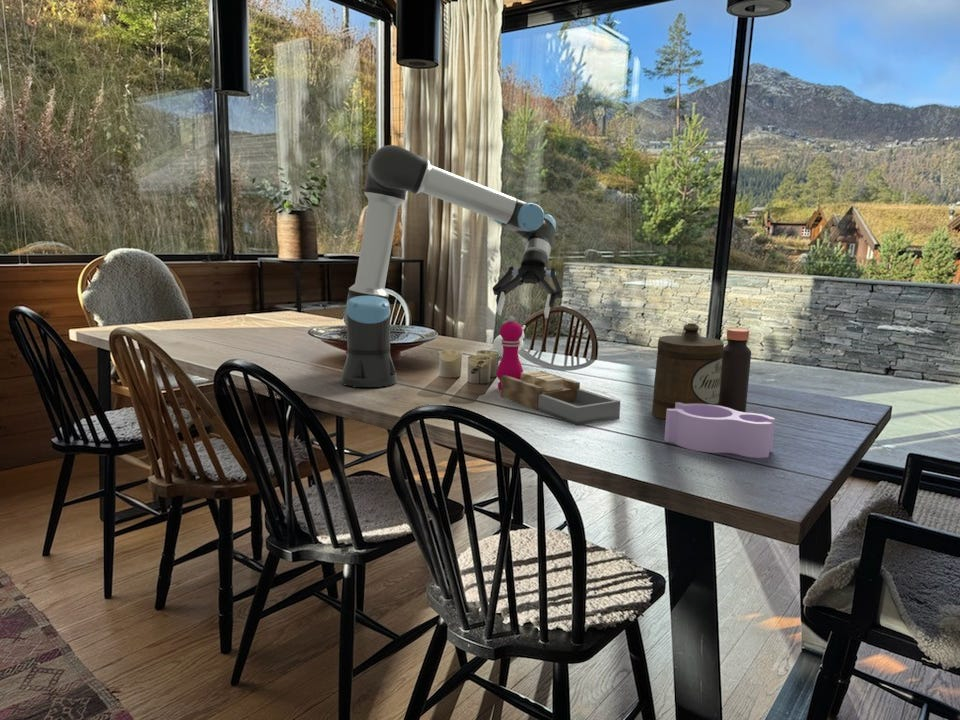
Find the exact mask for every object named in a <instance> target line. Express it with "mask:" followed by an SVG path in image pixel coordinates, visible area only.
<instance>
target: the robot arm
mask: <svg viewBox="0 0 960 720" xmlns="http://www.w3.org/2000/svg"><path fill="white" fill-rule="evenodd" d="M407 192H410V193H412V194H415V195H418V194H421V193H423V194H426V195H428V196H431V197H434V198H436V199H439V200H441V201H444V202H447V203H450V204H452V205H455V206H458V207H460V208H463V209H465V210H468V211H471V212H474V213H476V214H479V215H482V216H484V217H487V218H490V219H492V220H493V221H494V222H496V223H497V224H499V225H500V226H501V227H504V228H505V229H507V230H509V231H510V232H513V233H514V234H516V235H518V236H520V237H521V238H523V239H525V240H526V243H525V244H526V245H525V248H524V252H523V256H522V259H521V263H520V267H519V268H514V266H513V265H512V266H509V268H508V270H507V272H506V273H505V274H504V275H503V276H502V277H501V278H500V279H499V280H498V281H497V283H495V284H494V286H493V287H492V291H493V294H494V296H496V297H495V298H496V299H495V302H496V305H497V307H496V309H495V310H496V313H497V316H500V317H501V316H502V312H503V309H504V305H505V302H506V295H507V294H509V293H510V292H512V291H513V290H514V289H516V288H518V287H519V286H521V285H523V284H533V285H536V284H539V286H540V287H542V288H543V290H544V291H545V292H546V293H547V296H546V297H547V298H546V301H545V307H544V310H543V315H544V318H545V319H549V314H550V312H551V311H550V310H551V308H554V307H555V303H556V299H558V298H559V299H563V297H564V295H563V290H562V287H561V286H560V282H559V280H558V279H557V272H556V268H555V267H552V268H550V270H547V268H548V264H549V259H550V254H551V250H552V247H553V242H554V238H555V235H556V229H557V221H556V219H555V218H554V217H553V216H552V215H551V214H548V213H546V214H545V212H544V210H543V208H542V207H541V206H540V205H538V204H536V203H533V202H526V201H524V200H522V199H519V198H516V197H514V196H511V195H508V194H506V193H503V192H501V191H499V190H496V189H493V188H491V187H488V186H485V185H484V184H480V183H479V182H475V181H473V180H470V179H468V178H466V177H463V176H460V175H458V174H456V173H453V172H450V171H447V170H446V169H442V168H440V167H437V166H435V165H432V164H431V161H430V160H429V159H427V158H425V157H423V156H421V155H418V154H416V153H414V152H412V151H410V150H409V149H406V148H404V147H402V146H400V145H396V144H395V145H394V144H388V145H384V146H382V147H380V148H379V149H377V150H376V151H375V152H374V153H373V154H372V155H371V157H370V158H369V159H368V162H367V163H366V180H365V186H364V192H363V193H364V196H365V197H366V199H367V200H368V202H367V208H366V213H365V221H364V227H363V232H362V239H361V245H360V250H359V257H358V264H357V270H356V274H355V275H356V276H355V282H354V284H352V285H351V286H350V287H348V293H347V299H346V305H345V307H344V310H343V315H342V316H343V317H342V318H343V322H344V324H345V326H346V339H347V340H346V342H347V343H346V344H347V346H346V347H347V349H346V350H347V355H346V359H345V362H344V364H343V365H344V366H343V368H342V373H341V376H340V377H341V378H340V379H341V382H342V383H343V384H346V385H349V386H355V387H379V388H382V387H381V386H386V387H389V386H388V385H391V386H393V385H395V384H396V383H397V381H398V379H397V378H398V377H397V371H396V369H395V368H396V367H395V365H394V363H393V362H394V361H393V359H392V356H391V308H390V307H391V305H390V302H389V297H390V295H389V293H388V292H387V290H386V284H387V283H386V282H387V277H388V272H389V265H390V258H391V253H392V247H393V242H394V235H395V234H394V233H395V231H396V230H395V228H396V223H397V217H398V211H399V207H400V206H401V205H402V204H403V203H405V201H406V195H407ZM547 276H548V278H550V279H551V282H552V284H553V287H554V289H553V287H552V286H551V284H549V283H548V281H547V280H546V279H545V277H547ZM342 383H341V384H342ZM394 383H395V384H394ZM343 384H342V385H343ZM392 384H393V385H392ZM349 386H348V387H349ZM355 387H354V388H355Z"/></svg>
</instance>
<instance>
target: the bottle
mask: <svg viewBox="0 0 960 720" xmlns="http://www.w3.org/2000/svg"><path fill="white" fill-rule="evenodd" d="M726 330H727V331H726V342H727V343H726V345H724V346H723V355H722V368H721V383H720V394H719V403H718V406H723V407H727V408H731V409H733V410H736V411H740V412H747V402H748V401H747V399H748V390H749V381H750V380H749V379H750V371H751V370H750V369H751V360H752V359H751V358H752V351H751V349H750V348H749V347H748V346H747V343H749V337H750V330H748V329H745V328H728V329H726Z"/></svg>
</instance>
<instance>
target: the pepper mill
mask: <svg viewBox="0 0 960 720" xmlns="http://www.w3.org/2000/svg"><path fill="white" fill-rule="evenodd" d="M522 327H523V326H521V324H520V323H518V322H516V318H515V317H514V316H513V315H510V316H508V321H507V322H504V323H503V324H502V325H500V329H499V335H501V337H502V338H503V340H502V344H501V345H503V357H502V358H501V360H500V362H499V363H498V367H497V369H496V377H497V378H498V380H499V381H498V383H497V390H498V389H499V390H498V391H500V390H501V376H504V375H507V376H510V377H513V378H516V379H521V373H522V372H524V368H523V366H522V363H521V361H520V357H518V354H519V351H518V347H519V346H520V340H519V338H520V337H521V336H522Z"/></svg>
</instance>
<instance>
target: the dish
mask: <svg viewBox="0 0 960 720" xmlns="http://www.w3.org/2000/svg"><path fill="white" fill-rule="evenodd" d="M537 411H538V412H540V413H543V414H545V415H548V416H551V417H553V418H556V419H559V420H560V421H563V422H566V423H569V424H572V425H574V426H582V425H586V424H593V423H597V422H603V421H610V420H616V419H620V414H621V401H620V400H618V399H615V398H612V397H609V396H606V395H602V394H599V393H596V392H592V391H589V390H585V389H583V388H580V389H577V398H576V402H572V403H567V402H564V401H561V400H559V399H556V398H553V397H550V396H547V395H544V394H539V398H538V410H537Z"/></svg>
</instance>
